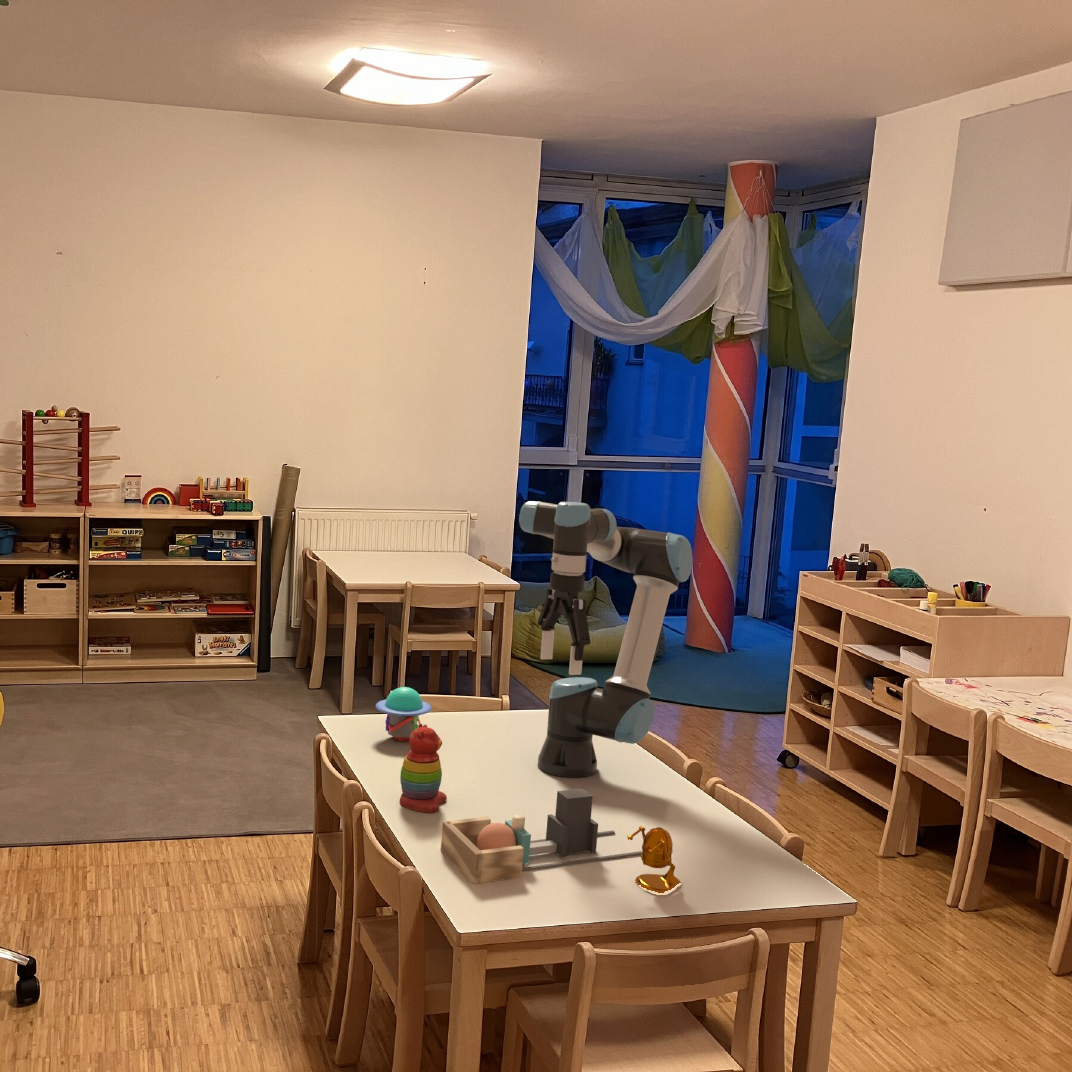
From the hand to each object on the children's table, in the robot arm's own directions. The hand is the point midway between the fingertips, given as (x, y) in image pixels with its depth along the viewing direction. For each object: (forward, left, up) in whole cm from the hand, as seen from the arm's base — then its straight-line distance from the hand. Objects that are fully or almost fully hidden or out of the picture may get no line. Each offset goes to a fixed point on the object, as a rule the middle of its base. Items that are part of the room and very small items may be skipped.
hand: (560, 666), depth 256 cm
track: (+5, +19, -35) cm, 40 cm away
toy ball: (+22, +19, -35) cm, 46 cm away
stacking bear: (+25, -15, -35) cm, 45 cm away
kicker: (+9, +19, -34) cm, 40 cm away
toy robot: (+13, -60, -35) cm, 71 cm away
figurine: (-4, +39, -35) cm, 52 cm away
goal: (+25, +19, -35) cm, 47 cm away
